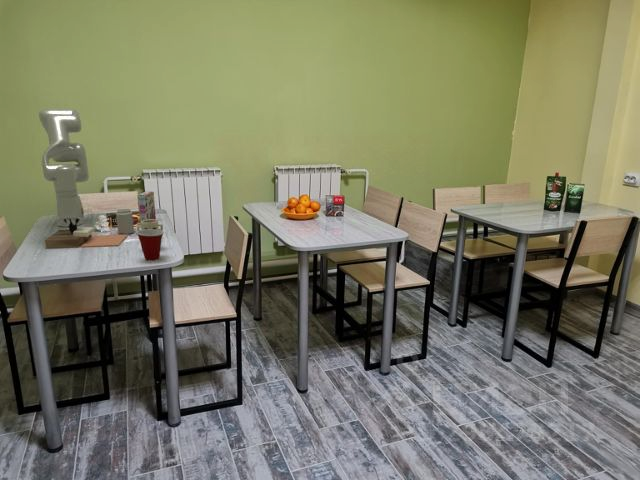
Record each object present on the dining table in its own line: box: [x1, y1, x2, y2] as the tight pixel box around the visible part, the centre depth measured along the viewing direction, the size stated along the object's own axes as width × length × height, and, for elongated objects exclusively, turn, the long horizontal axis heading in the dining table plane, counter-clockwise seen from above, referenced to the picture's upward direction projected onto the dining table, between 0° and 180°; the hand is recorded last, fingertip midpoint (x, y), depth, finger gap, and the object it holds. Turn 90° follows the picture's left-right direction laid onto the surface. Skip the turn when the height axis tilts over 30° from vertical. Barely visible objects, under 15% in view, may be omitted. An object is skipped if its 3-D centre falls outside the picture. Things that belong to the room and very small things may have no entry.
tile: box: [73, 226, 95, 237], centre depth 223 cm, size 9×6×2 cm, turn 6°
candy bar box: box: [137, 191, 157, 226], centre depth 259 cm, size 11×5×16 cm, turn 178°
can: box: [115, 208, 135, 235], centre depth 239 cm, size 8×8×12 cm
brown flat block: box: [44, 228, 93, 249], centre depth 224 cm, size 18×14×4 cm
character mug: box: [136, 218, 164, 232], centre depth 213 cm, size 11×7×13 cm, turn 111°
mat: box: [80, 234, 129, 248], centre depth 226 cm, size 18×16×1 cm
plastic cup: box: [136, 229, 164, 261], centre depth 201 cm, size 11×11×12 cm
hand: (73, 232), depth 223 cm, fingers closed
